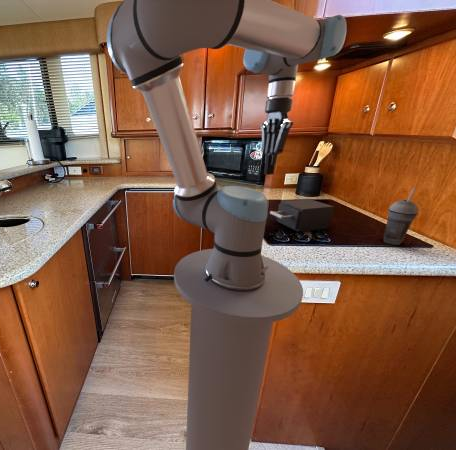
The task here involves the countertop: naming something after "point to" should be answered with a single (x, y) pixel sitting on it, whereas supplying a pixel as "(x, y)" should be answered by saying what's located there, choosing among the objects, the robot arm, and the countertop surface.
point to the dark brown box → (311, 214)
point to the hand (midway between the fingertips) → (268, 174)
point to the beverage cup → (399, 220)
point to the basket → (287, 216)
